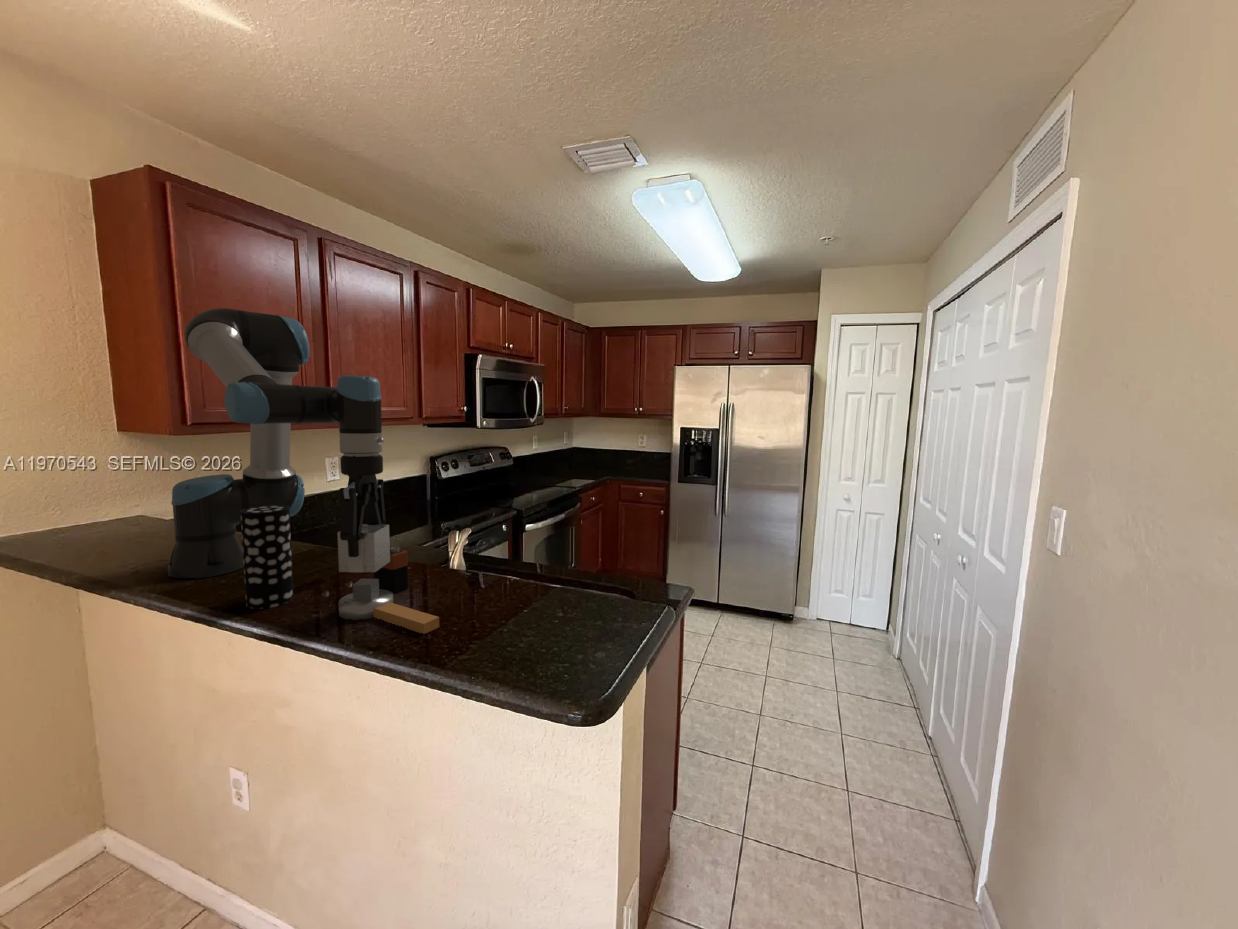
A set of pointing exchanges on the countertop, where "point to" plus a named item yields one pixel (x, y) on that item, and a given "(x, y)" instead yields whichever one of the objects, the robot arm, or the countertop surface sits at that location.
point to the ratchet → (383, 608)
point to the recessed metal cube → (368, 548)
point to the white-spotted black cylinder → (267, 556)
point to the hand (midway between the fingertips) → (365, 565)
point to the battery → (394, 572)
